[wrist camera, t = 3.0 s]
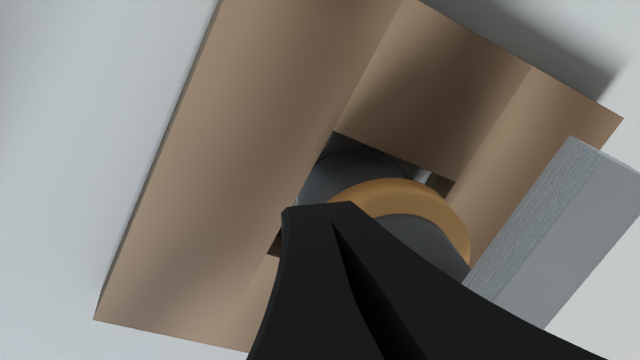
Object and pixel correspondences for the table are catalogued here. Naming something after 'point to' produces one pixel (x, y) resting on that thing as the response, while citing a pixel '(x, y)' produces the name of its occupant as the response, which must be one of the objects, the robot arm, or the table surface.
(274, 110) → the socket block
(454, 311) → the robot arm
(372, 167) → the plug
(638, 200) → the grey rectangular bar
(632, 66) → the table surface
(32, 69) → the table surface
